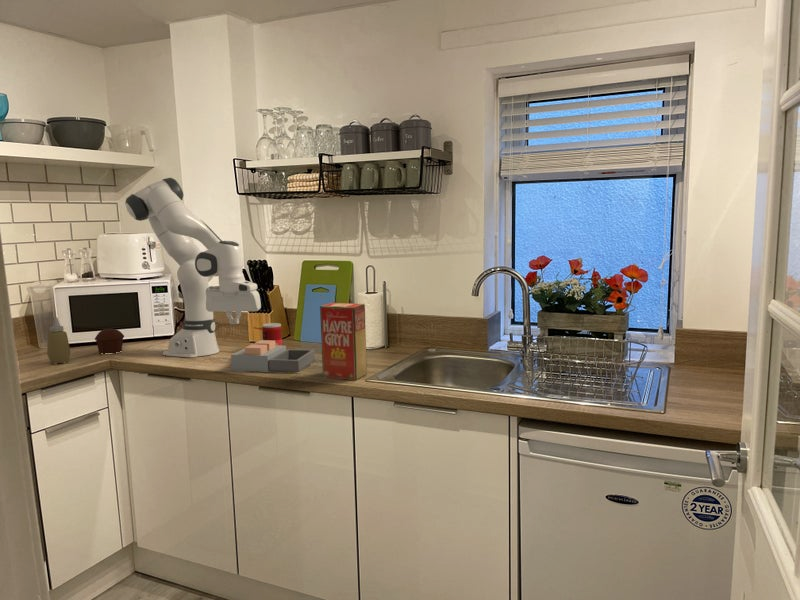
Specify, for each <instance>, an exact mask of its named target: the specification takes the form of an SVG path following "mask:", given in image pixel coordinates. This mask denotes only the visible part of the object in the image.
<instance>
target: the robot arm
mask: <svg viewBox="0 0 800 600" xmlns="http://www.w3.org/2000/svg"><path fill="white" fill-rule="evenodd" d="M183 199H184V191H183V187H182V186H181V185H180V183H179V182H178V181H177V180H176V179H174V178H173V177H167V178H163V179H161V180H158V181H156V182H154V183H151V184H148V185H147V186H145V187H144V188H141V189H139V190H138V191H136V192H135V193H132V194H130V195H129V196H128V197H126V198H125V207H126V210H127V213H128V214H129V215H130V217H132V218H133V219H134V220H136V221H140V222H142V221H146V220H148V222H149V224H150V227H151V228H152V230H153V232H154V234H155V236H156V238H157V239H158V241H159V242H160V244H161V245H162V247H163V248H164V250H165V251H166V253H167V254H168V256H170V257H171V258H172V259H173V260H174V261H175V262H176V263H177V264H178V265H179V267H178V269H177V271H176V277H177V280H178V282H179V286H180V289H181V293H182V297H183V303H184V316H185V317H184V319H183V321H180V322H179V326H182V327H181V329H179V331H178V332H176V334H174V335H173V336H171V338H169V341H168V345H167V346H168V347H167V349H166V350H164V351H163V352H162V355H163V356H165V355H166V357H167V356H169V357H180V358H196V357H201V356H203V357H204V356H209V355H210V356H211V355H215V354H218V353H219V352H220V348H219V345H218V341H217V338H216V336H217V335H216V319H215V317H214V312H219V313H220V312H225V315H226V317H227V318H228V319H229V324H230V325H231V324H232V325H236V324H237V325H238V324H240V318H241V316H242V315H243V314H242V313H243V312H258V311H259V310H261V308H262V303H261V297H260V293H259V291H258V284H257V283H256V282H251V281H248V280H245V277H244V273H243V267H244V261H243V260H244V259H243V253H242V248H241V246H240V244H239V243H238V242H237V241H231V240H222V239H221V238H220V237H219V236H218V235H217V234H216V233H215V231H214V230H213V229H212V228H211V227H210V226H209V225H208V224H206V223H205V222H204V221H203V220H202V219H200V218H199V216H197V215H196V214H194V213H193V212H192V211H191V209H189V207H187V205H186V204H185V203H184V201H183ZM194 239H195V240H197V241H198V242H200V243H201V244H202V245H203V246H204V247H205V249H206V250H204V251H202V249H200V247H199V246H198V245H197V244H196V243H195V241H194ZM214 277H218V285H217V286H213V285H211V286H209V282H210V281H212V280H213V278H214ZM233 312H234V314H235V315H236V316H235V318H234V317H233V316H232V314H233Z"/></svg>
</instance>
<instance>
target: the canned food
mask: <svg viewBox="0 0 800 600" xmlns="http://www.w3.org/2000/svg"><path fill="white" fill-rule="evenodd" d="M261 330H262V331H261V333H262V340H272V341H275V345H283V331H282V324H281V322H280V323H279V322H272V323H271V322H268V323H263V324H262V325H261Z"/></svg>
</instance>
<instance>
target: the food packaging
mask: <svg viewBox="0 0 800 600" xmlns="http://www.w3.org/2000/svg"><path fill="white" fill-rule="evenodd" d="M319 311H320V315H319V316H320V333H321V336H320V337H321V361H322V362H321V364H322V368H321V369H322V378H323V377H326V378H325V379H334V378H335V379H336V380H345V379H346V380H349V381H358V380H360V379H362V378H363V377H366V375H368V371H367V368H368V367H367V363H368V362H367V338H366V336H367V335H366V334H367V333H366V332H367V331H366V305H365V303H347V302H346V303H344V302H343V303H342V302H330V303H326V304H323V305H320V306H319ZM335 379H334V380H335Z"/></svg>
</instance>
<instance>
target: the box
mask: <svg viewBox="0 0 800 600" xmlns="http://www.w3.org/2000/svg"><path fill="white" fill-rule="evenodd" d="M315 351H316V350H315V349H289V348H288V349H287V348H286V350H285V351H284V352H282V353H280V354H278V355H277V356H275V357H273V358H271V359H270V360H269V373H279V372H300V371H301V370H302V371H304V370H305V369H307V368H308V367H310V366H311V365H312V364H313V362H314V361H315V362H316V352H315ZM315 362H314V363H315ZM311 363H312V364H311ZM310 364H311V365H310ZM307 366H308V367H307ZM306 367H307V368H306ZM304 368H305V369H304ZM303 369H304V370H303ZM302 371H301V372H302ZM301 372H300V373H301Z"/></svg>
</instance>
